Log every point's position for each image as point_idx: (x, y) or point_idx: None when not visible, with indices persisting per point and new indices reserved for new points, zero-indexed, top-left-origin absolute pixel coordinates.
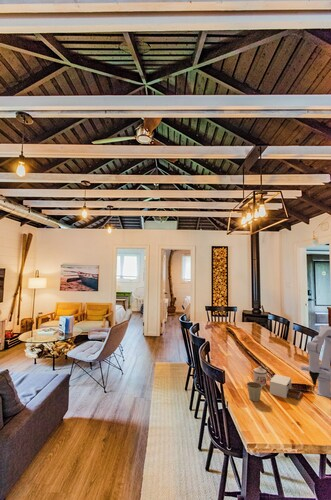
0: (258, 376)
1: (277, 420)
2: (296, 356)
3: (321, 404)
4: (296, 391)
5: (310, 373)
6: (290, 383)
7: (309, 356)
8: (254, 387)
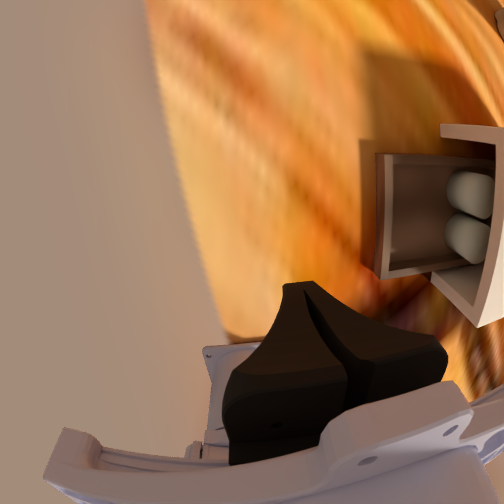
0: None
1: None
2: None
3: (222, 203)
4: (409, 265)
5: (428, 358)
6: (460, 293)
7: None
8: None
